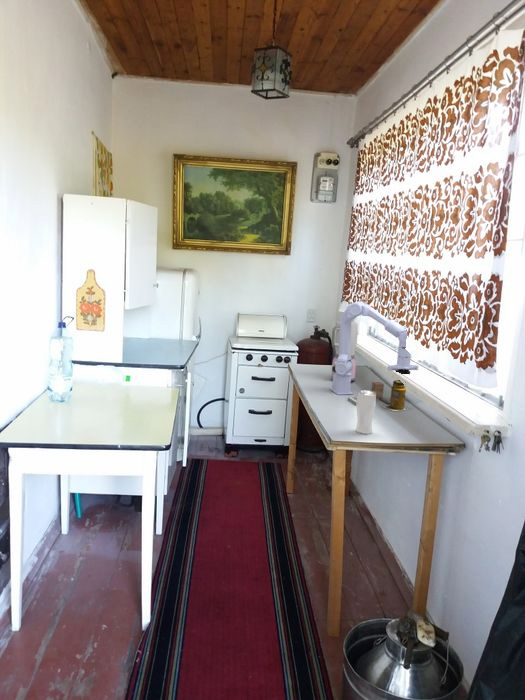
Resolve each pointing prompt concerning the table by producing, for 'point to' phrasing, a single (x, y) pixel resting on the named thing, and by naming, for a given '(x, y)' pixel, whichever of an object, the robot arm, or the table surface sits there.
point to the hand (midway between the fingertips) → (401, 385)
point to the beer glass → (365, 411)
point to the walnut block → (378, 389)
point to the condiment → (397, 396)
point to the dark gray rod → (384, 400)
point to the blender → (337, 346)
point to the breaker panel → (353, 400)
